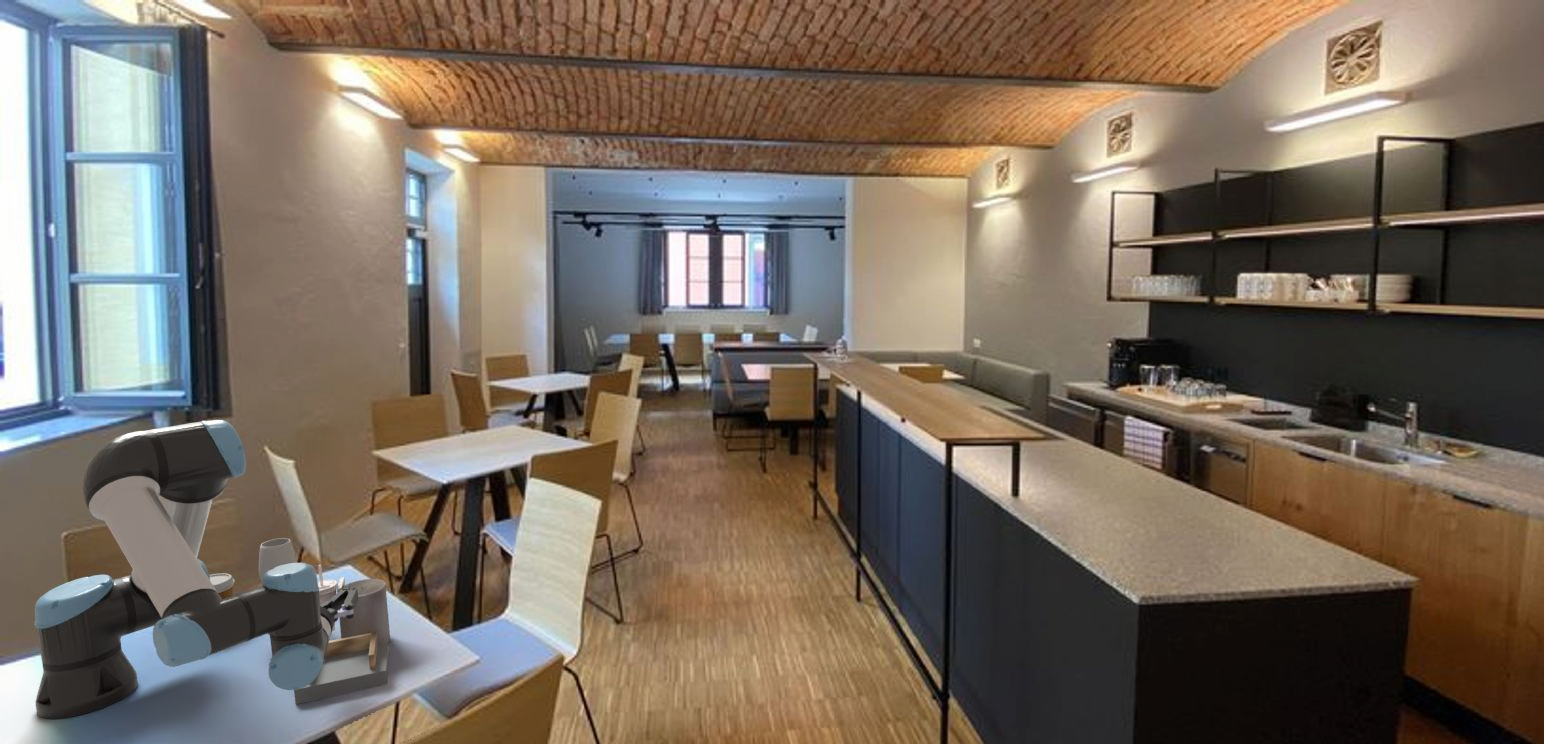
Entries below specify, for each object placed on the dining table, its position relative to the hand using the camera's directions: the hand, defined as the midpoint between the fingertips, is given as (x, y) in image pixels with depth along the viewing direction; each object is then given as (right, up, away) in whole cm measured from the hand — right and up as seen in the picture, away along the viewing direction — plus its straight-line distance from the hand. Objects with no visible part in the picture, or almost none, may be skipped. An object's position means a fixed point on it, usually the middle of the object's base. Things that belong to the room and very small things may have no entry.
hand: (324, 586), depth 158 cm
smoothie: (+2, -8, -4) cm, 9 cm away
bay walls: (+5, -16, -1) cm, 16 cm away
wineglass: (-23, -16, +23) cm, 36 cm away
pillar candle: (+2, -17, +13) cm, 22 cm away
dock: (+5, -19, -1) cm, 19 cm away
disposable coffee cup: (-39, -17, +23) cm, 48 cm away
